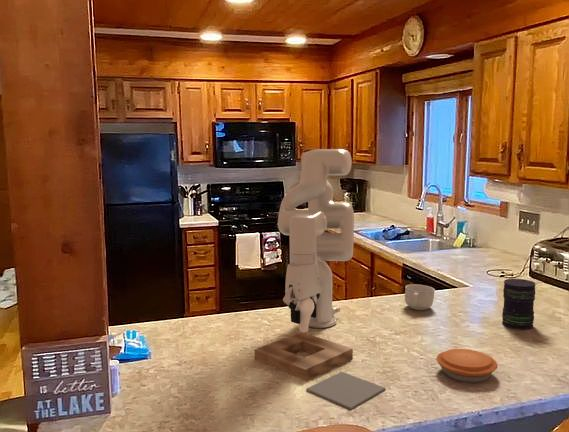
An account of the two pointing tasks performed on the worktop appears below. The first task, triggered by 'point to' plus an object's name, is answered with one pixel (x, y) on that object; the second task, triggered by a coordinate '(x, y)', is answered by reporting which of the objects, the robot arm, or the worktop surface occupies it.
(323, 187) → the robot arm
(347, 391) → the mat
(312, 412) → the worktop surface
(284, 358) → the holder
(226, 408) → the worktop surface
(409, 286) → the teacup
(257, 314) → the worktop surface
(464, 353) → the pie
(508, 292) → the storage jar
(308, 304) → the lightbulb
